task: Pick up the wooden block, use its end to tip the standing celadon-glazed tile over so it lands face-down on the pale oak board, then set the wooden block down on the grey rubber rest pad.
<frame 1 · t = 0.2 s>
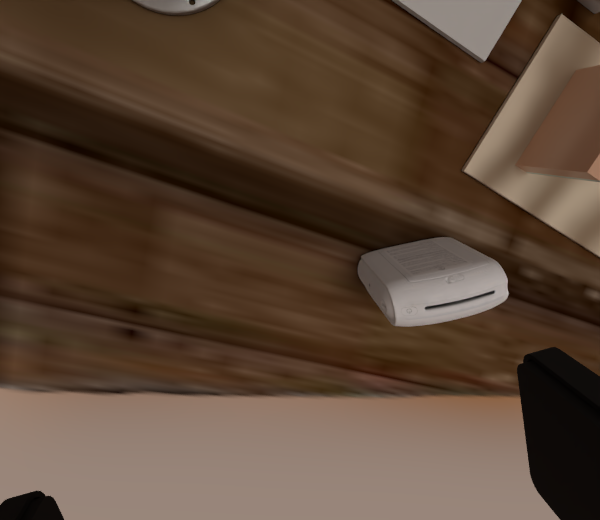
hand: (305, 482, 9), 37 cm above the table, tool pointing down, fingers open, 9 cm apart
oak board: (585, 149, 46), on the table
photo printer: (404, 261, 47), on the table
tile: (588, 120, 40), point 6 cm above the table, touching oak board
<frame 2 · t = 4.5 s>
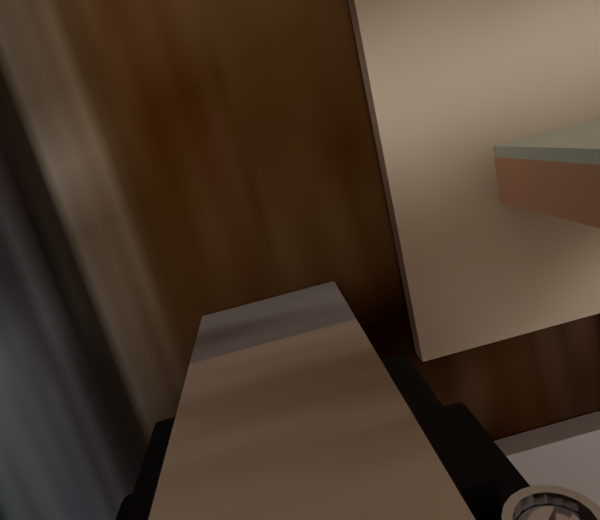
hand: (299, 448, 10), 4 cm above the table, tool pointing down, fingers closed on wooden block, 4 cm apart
wooden block: (285, 358, 14), on the table, touching gripper
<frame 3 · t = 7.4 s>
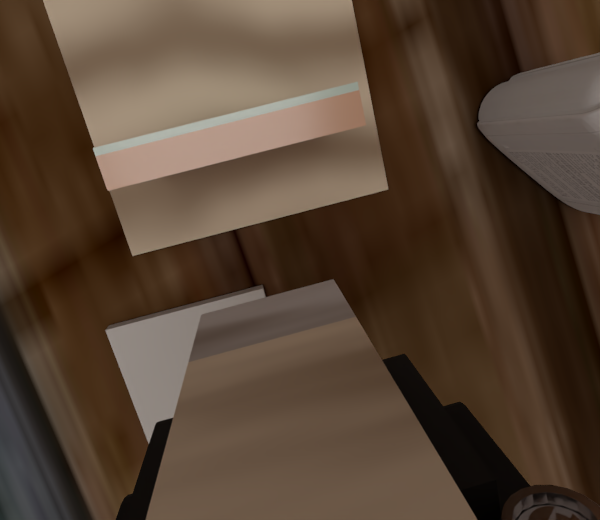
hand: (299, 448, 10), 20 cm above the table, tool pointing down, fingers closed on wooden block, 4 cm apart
oak board: (215, 50, 26), on the table
wooden block: (284, 356, 14), point 16 cm above the table, touching gripper
photo printer: (540, 146, 30), on the table
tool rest: (208, 373, 31), on the table
tile: (236, 138, 22), point 6 cm above the table, touching oak board
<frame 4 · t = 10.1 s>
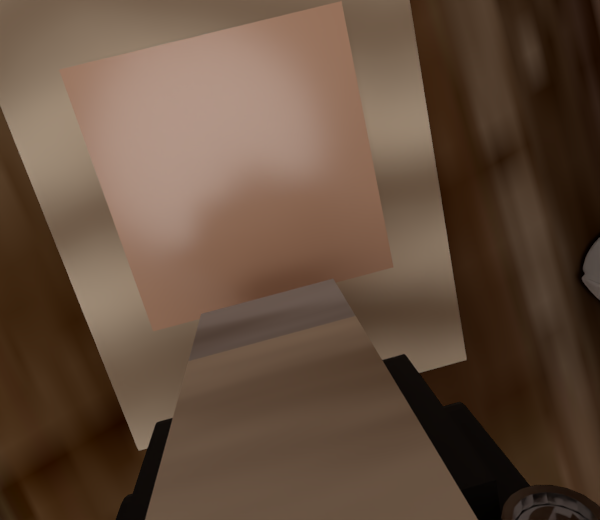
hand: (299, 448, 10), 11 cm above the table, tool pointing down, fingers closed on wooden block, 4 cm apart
oak board: (248, 197, 20), on the table
wooden block: (284, 355, 14), point 7 cm above the table, touching gripper
tile: (241, 175, 18), point 1 cm above the table, tilted 90°, touching oak board
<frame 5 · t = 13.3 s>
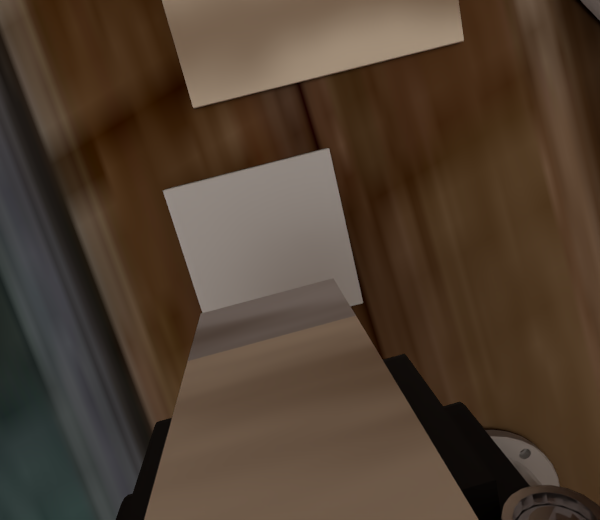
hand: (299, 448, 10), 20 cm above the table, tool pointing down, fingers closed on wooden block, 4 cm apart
wooden block: (284, 355, 14), point 16 cm above the table, touching gripper
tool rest: (267, 246, 29), on the table
when the fingers open (6 cm above the table, at t = 16.0 s): wooden block stays where it is, resting on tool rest.
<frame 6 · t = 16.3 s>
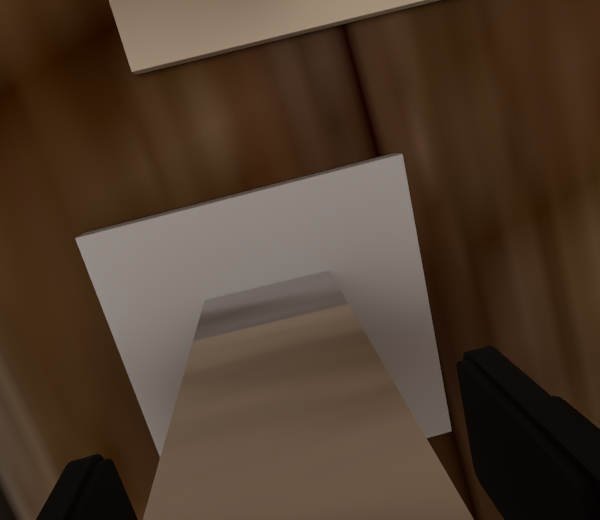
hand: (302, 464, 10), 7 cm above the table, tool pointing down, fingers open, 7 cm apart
wooden block: (281, 342, 15), point 1 cm above the table, touching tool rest
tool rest: (281, 334, 16), on the table
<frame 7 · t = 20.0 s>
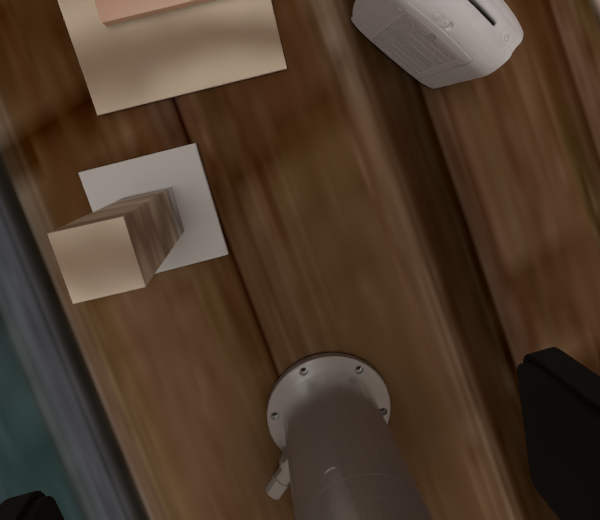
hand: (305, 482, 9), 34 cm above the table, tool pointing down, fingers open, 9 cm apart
wooden block: (155, 214, 40), point 1 cm above the table, touching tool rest
photo printer: (402, 39, 40), on the table
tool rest: (157, 213, 41), on the table
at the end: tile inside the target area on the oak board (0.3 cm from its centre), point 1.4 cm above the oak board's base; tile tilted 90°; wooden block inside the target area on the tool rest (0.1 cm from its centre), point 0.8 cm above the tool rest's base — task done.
